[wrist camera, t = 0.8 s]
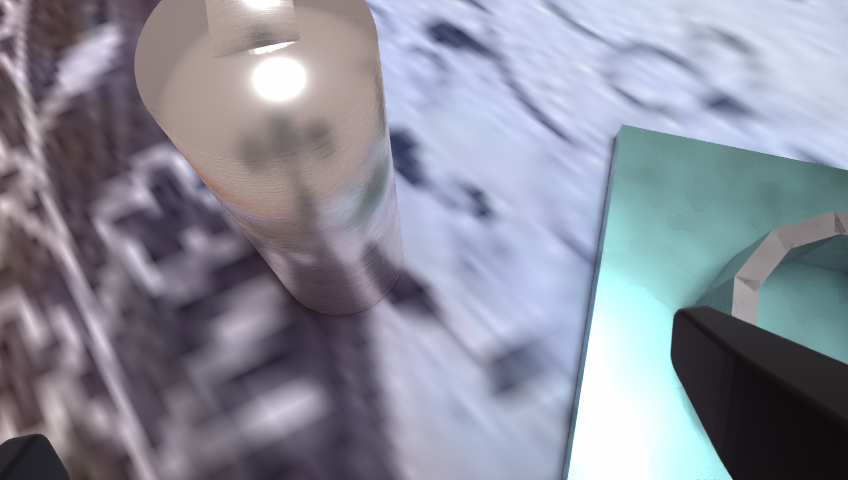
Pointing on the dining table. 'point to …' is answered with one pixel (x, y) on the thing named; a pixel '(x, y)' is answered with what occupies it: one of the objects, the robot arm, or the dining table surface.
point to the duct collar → (697, 289)
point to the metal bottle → (285, 134)
